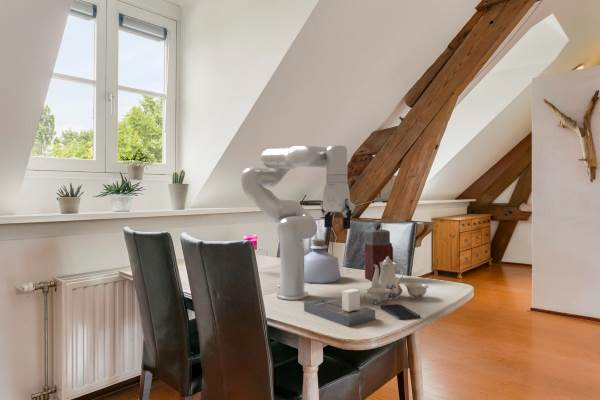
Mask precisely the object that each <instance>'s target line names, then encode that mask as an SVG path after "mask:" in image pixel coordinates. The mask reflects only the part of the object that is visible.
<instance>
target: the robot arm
mask: <svg viewBox="0 0 600 400" xmlns="http://www.w3.org/2000/svg"><path fill="white" fill-rule="evenodd" d="M260 155H261V157H260V161H261V162H262V164H263V166H264V167H263V166H250V167H248V168H246V169H244V170H243V171H242V173H241V176H240V182H241V187H242V190H243V192H244V194H245V195H246V196H247V197H248V199H250V200H251V201H252V202H253V204H255V205H256V206H257V208H258V209H259V210H260V212H262V213H263V214H264V216H265V217H266V218H267V219H268V220H269V221H270V222H271V223H273V224H277V227H276V229H277V231H276V232H277V237H278V241H279V259H280V260H279V261H280V262H279V266H280V268H279V270H280V271H279V272H280V273H279V276H280V280H279V281H280V282H279V284H277V285H276V287H277V288H278V289H279V291H277V293H276V298H278V299H281V300H285V301H286V300H287V301H288V300H289V301H290V300H291V301H296V300H304V299H306V298H308V297H309V292H308V291H306V290H305V282H304V256H305V250H304V247H303V244H302V241H301V240H307V239H312V238H314V236H315V235H317V233H318V225H317V222H316V219H315V218H314V217H313V215H311V214H310V213H309V212H308V211H307V210H306V209H305V208H304V207H303V206H302V205H301V204H300V203H299V202H297V201H296V200H292V199H279V198H278V197H277V196H276V195H275V194H274V193H273V192H272V191H271V190H270V189H268V188H272V187H276V186H277V185H278V184H279V183H281V181H282V180H283V179H284V177H285V176H286V175H287V174H288V172H289V171H290V170H291V169H292V170H293V169H295V168H297V167H307V168H309V167H310V168H311V167H313V168H326V173H325V174H326V176H325V177H326V178H325V181H326V184H325V185H324V189H323V196H322V197H323V199H322V202H321V203H320V206H319V207H320V208H321V213H322V216H323V217H324V219H323V222H324V224H323V225H324V228H331V227H332V226H333V216H332V214H333V213H341V214H342V216H343V217H342V229H343V230H349V229H351V218H352V217H353V215H354V212H355V209H356V205H355V204H354V203H353V202H352V201H351V194H350V187H349V183H348V148H347V146H344V145H336V144H335V145H329V146H327V147H325V146H318V145H317V146H316V145H296V146H295V145H294V146H287V147H286V146H284V147H282V146H281V147H269V148H267V149H265V150H264V151H263V152H262V153H261V154H260Z"/></svg>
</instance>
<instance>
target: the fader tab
mask: <svg viewBox="0 0 600 400" xmlns="http://www.w3.org/2000/svg"><path fill="white" fill-rule="evenodd" d="M360 291H361V290H359V289H356V288H351V289H350V288H349V289H344V290H341V300H342V310H345V311H348V312H349V311H353V310H357V309H360V306H361V300H360V298H361V294H360V293H361V292H360Z"/></svg>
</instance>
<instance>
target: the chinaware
mask: <svg viewBox="0 0 600 400" xmlns="http://www.w3.org/2000/svg"><path fill="white" fill-rule="evenodd" d="M397 266H399V267H400V268H401V275H400V276H399V277H398V278H397V277H396V276H397V275H396V269H397V268H398V267H397ZM374 267H375V272H374V276H373V280H372V282H371V287H369V288H368V289H366V292H364V293H363V296H365V295H366V294H367V295H369V297H370V299H366V298H365V297H363V299H364V300H365V301H368V302H369V301H370V303H373V304H374V305H377V306H378V305H379V306H383V305H384V303H385V302H386V301H394V300H393V299H395V300H398V299H400V297H399V296H401V294H403V289H402V287H401V285H400V284H401V283H402V278H403V277H404V275H405V269H404V267H403V265H402V264H399V263H396V262H395V261H393V262H392V260H390V259H389V257H388V256H387V257H386V259H385V260H384V261H383V262H380V267H381V272H380V277H379V268H378V266H377V265H376V264H374ZM378 278H379V280H378ZM404 286H405V287H406V289H407V290H406V291H407V293H408V294H409V296H410V297H412V298H413V297H414V299H413V300H415V299H416V300H421V299H420V298H422V297H424V296H425V294H426V293H427V289H428V288H429V287H430V286H429V285H427V284H426V283H424V282H423V283H416V282H410V283H409V284H408V283H405V284H404Z"/></svg>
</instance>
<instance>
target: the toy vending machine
mask: <svg viewBox="0 0 600 400" xmlns="http://www.w3.org/2000/svg"><path fill="white" fill-rule="evenodd" d="M381 222H382V221H381V220H379V219H376V220H375V219H374V220H373V222H372V225H373V229H369V228H368V229H365V230H364V279H365V278H366V280H367V279H368V280H367V281H369V280H370V281H369V282H371V281H372V280H373V276H374V272H375V267H374V264H376V265H377V266H378V268H379V277H380V272H381V267H380V262H383V261H384V260H385V259H386V257H387V256H388V257H389V259H390V260H392V262H394V247H393V244H392V242H391V237H390V236H391V232H390V230H387V229H381V227H382V223H381ZM378 280H379V278H378Z"/></svg>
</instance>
